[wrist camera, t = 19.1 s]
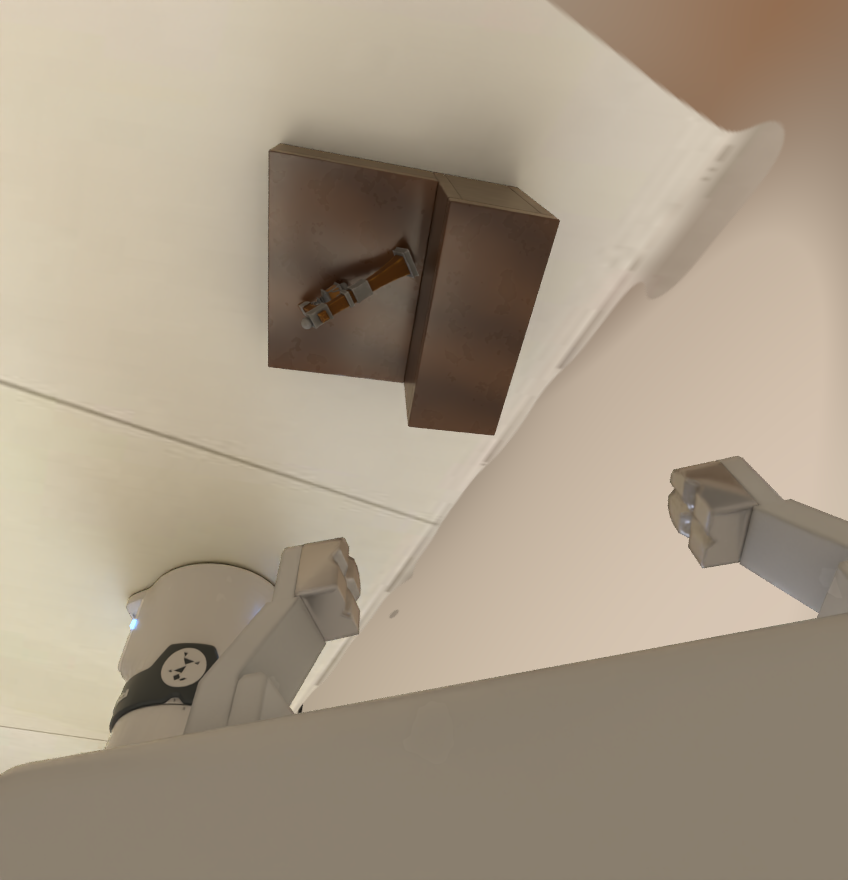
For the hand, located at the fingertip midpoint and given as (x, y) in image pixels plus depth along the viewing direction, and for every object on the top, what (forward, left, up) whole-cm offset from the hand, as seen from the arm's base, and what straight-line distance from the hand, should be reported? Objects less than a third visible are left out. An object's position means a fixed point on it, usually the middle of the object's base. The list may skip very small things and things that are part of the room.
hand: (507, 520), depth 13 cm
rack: (-3, +2, -29) cm, 29 cm away
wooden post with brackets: (-3, +4, -25) cm, 26 cm away
